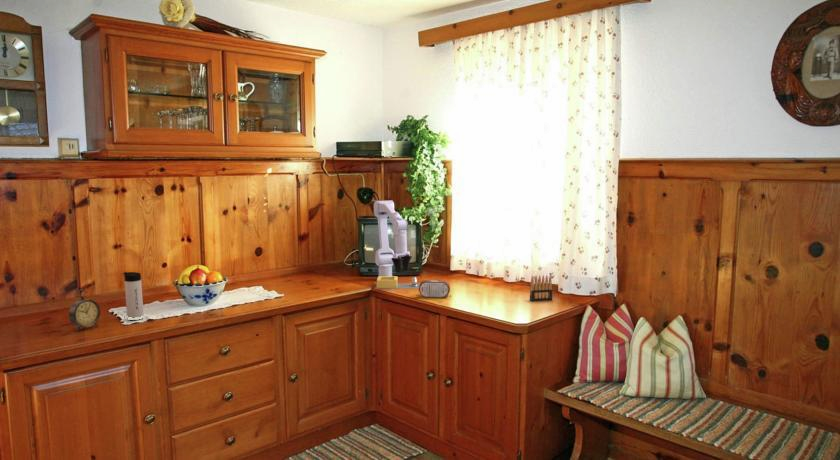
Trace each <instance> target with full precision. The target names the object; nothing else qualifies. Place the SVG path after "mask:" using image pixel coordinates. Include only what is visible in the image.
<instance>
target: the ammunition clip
mask: <svg viewBox="0 0 840 460" xmlns="http://www.w3.org/2000/svg"><path fill="white" fill-rule="evenodd" d="M541 276H542V277H541ZM530 278H531V279H530V289H529V302H543V301H545V302H546V301H553V288H552V287H553V282H552V275H551V274H549V276H548V275H544V274H543V275H539V276H537V275H535V277H534V275H531V277H530Z"/></svg>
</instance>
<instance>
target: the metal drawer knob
mask: <svg viewBox="0 0 840 460" xmlns="http://www.w3.org/2000/svg"><path fill="white" fill-rule="evenodd" d="M411 283H412V284H411V286H412V287H417V286H418V284H417V283H418V279H417V277H416V276H415V277H412V279H411Z"/></svg>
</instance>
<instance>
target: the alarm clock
mask: <svg viewBox="0 0 840 460" xmlns="http://www.w3.org/2000/svg"><path fill="white" fill-rule="evenodd" d="M81 291H84V295H80V292H81ZM86 294H87V291H86V289H84V288H81V289H79V290H78V292H77V295H78V297H80V299H78V300H76V301H74V302H73V303H72V304H71V305H70V307H69V309H68V319H69V322H70V323H71V324H72V325H73V326H75V327H76V331H78V332H79V330H80V328H81V327H82V328H90V327H92V326H94V325H95V326H96V325H98V323H97V322H98V321H99V320H100V316H101V307H100V305H99V304H98V302H97V301H95V300H93V299H89V298H87V299H86V298H84V297H85V296H86Z"/></svg>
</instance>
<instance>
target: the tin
mask: <svg viewBox="0 0 840 460" xmlns="http://www.w3.org/2000/svg"><path fill="white" fill-rule="evenodd" d="M418 292H419V294H420V296H422V297H424V298H426V299H427V298H428V299H429V298H432V299H443V298H446V297H447V296H449V294H450V292H451V287H450V284H449V283H448V282H447V281H446V280H443V279H425V280H422V281H421V282H420V285H419V289H418Z"/></svg>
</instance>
